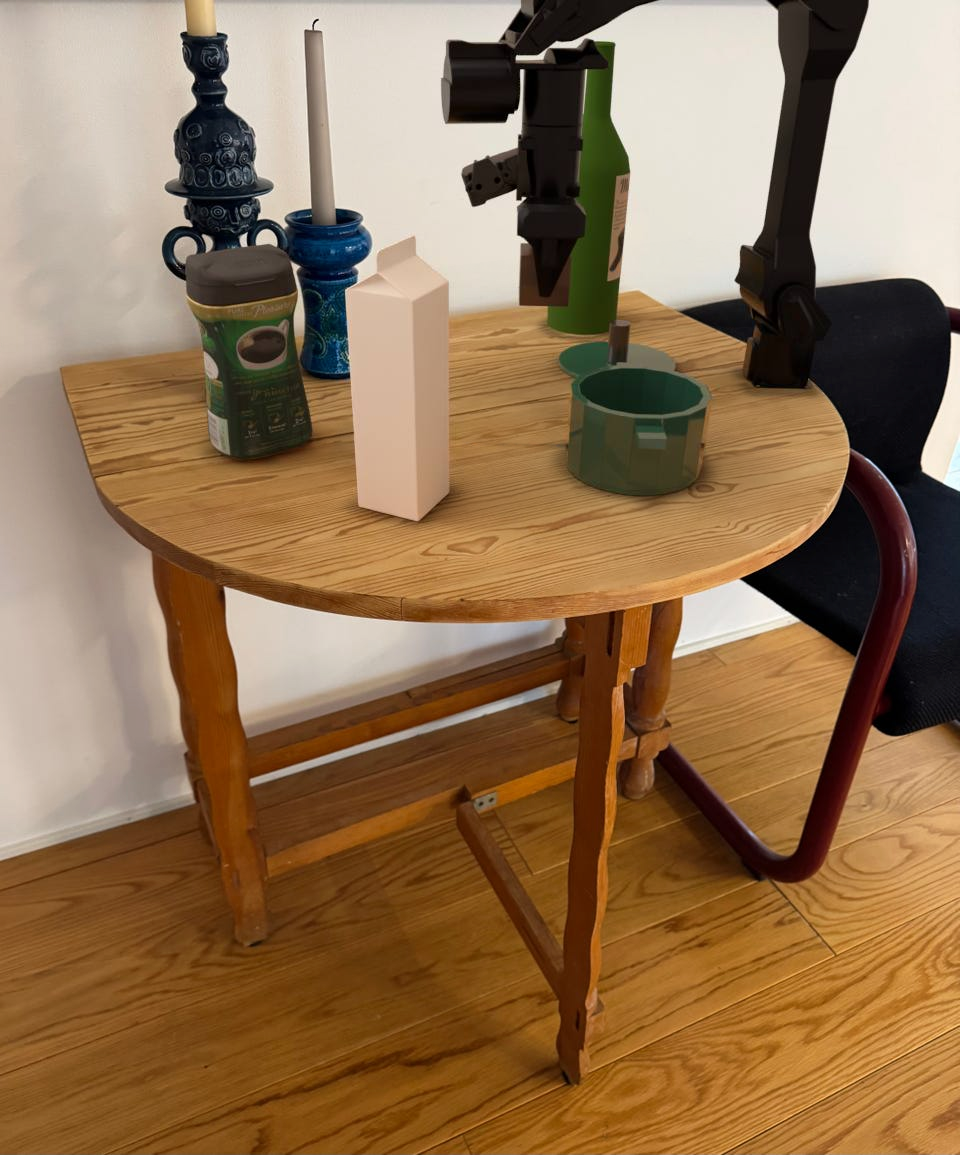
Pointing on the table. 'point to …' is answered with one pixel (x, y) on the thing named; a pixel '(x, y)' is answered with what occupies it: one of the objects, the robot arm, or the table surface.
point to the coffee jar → (249, 350)
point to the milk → (400, 383)
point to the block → (530, 285)
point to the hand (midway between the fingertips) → (543, 289)
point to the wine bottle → (597, 213)
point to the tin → (637, 429)
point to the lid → (612, 353)
